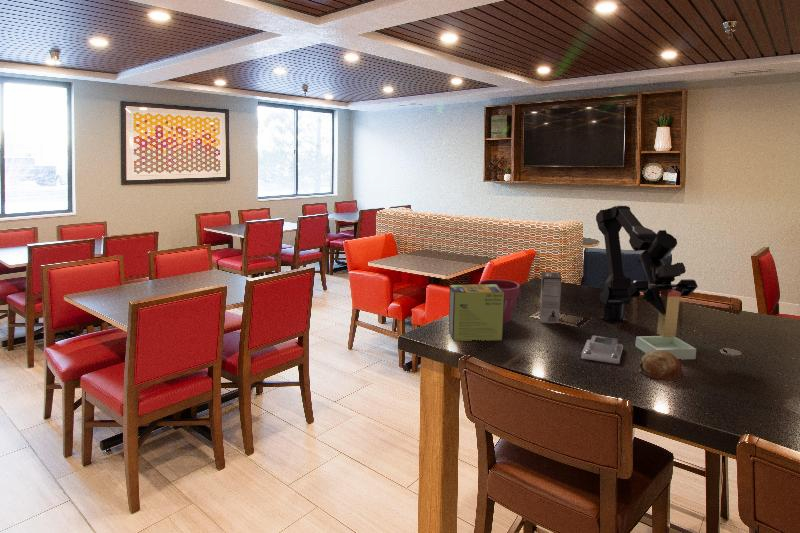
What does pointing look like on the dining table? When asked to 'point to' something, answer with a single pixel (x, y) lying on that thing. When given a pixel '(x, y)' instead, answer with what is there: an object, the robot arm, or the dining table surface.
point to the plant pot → (506, 295)
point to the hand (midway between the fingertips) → (671, 313)
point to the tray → (666, 346)
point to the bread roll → (660, 365)
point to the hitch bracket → (602, 350)
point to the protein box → (476, 312)
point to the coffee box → (550, 297)
